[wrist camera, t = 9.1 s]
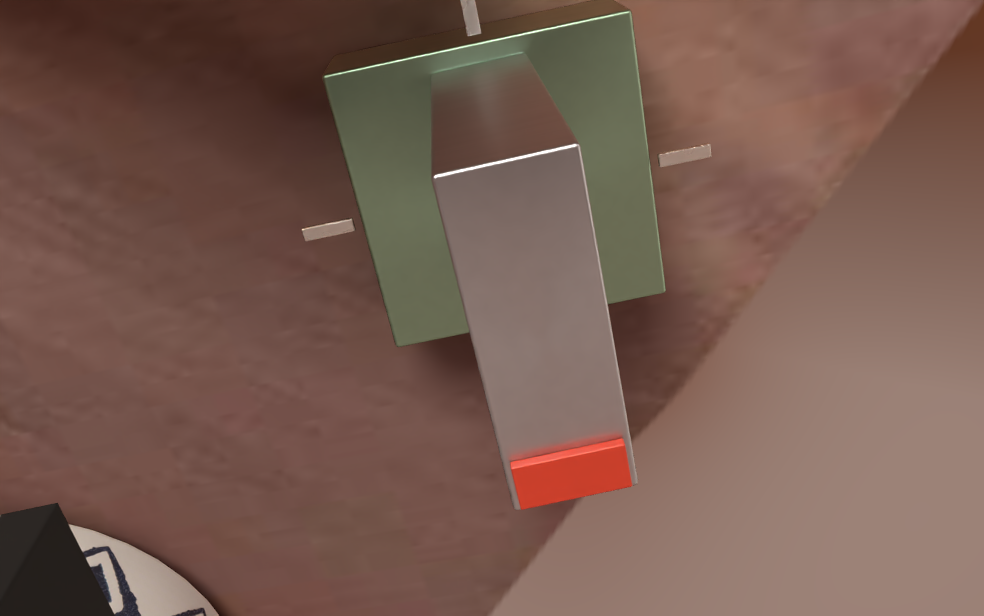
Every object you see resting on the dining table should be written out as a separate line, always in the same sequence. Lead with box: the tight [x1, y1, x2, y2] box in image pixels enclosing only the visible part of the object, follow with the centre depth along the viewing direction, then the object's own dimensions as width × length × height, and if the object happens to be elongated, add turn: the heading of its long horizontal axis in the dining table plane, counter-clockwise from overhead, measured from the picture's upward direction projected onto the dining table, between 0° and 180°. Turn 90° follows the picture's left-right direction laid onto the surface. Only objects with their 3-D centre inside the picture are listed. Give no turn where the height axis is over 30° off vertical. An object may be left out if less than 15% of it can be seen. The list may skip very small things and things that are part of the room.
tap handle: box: [431, 53, 638, 510], centre depth 20 cm, size 7×2×9 cm, turn 12°
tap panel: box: [302, 0, 711, 347], centre depth 26 cm, size 11×11×3 cm
